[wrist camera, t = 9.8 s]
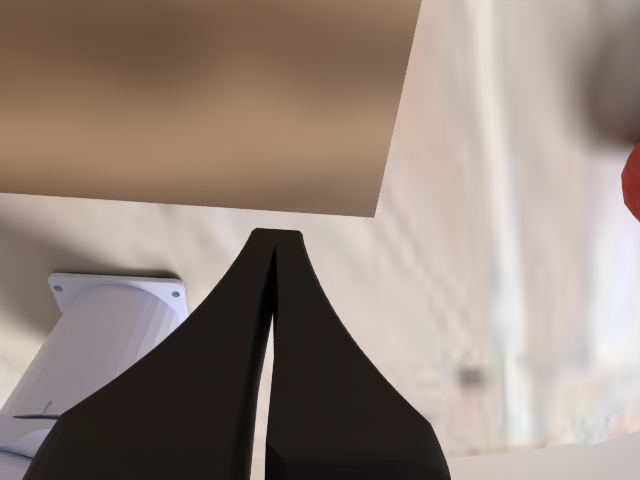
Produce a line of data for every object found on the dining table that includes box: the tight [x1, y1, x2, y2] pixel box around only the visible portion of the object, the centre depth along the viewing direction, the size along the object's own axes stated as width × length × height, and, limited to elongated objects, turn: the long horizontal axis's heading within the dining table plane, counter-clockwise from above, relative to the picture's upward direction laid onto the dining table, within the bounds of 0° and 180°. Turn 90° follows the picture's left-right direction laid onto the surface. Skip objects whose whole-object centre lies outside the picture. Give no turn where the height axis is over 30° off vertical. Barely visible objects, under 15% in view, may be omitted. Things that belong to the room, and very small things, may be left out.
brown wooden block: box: [0, 0, 422, 218], centre depth 14 cm, size 12×20×4 cm, turn 84°
